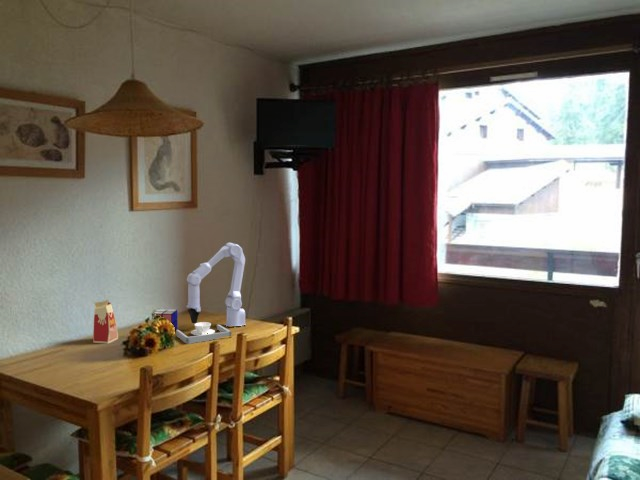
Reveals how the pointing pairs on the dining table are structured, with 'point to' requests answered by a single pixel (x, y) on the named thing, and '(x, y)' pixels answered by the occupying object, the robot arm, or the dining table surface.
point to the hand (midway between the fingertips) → (194, 322)
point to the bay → (205, 337)
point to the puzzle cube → (168, 316)
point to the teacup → (202, 328)
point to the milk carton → (104, 323)
